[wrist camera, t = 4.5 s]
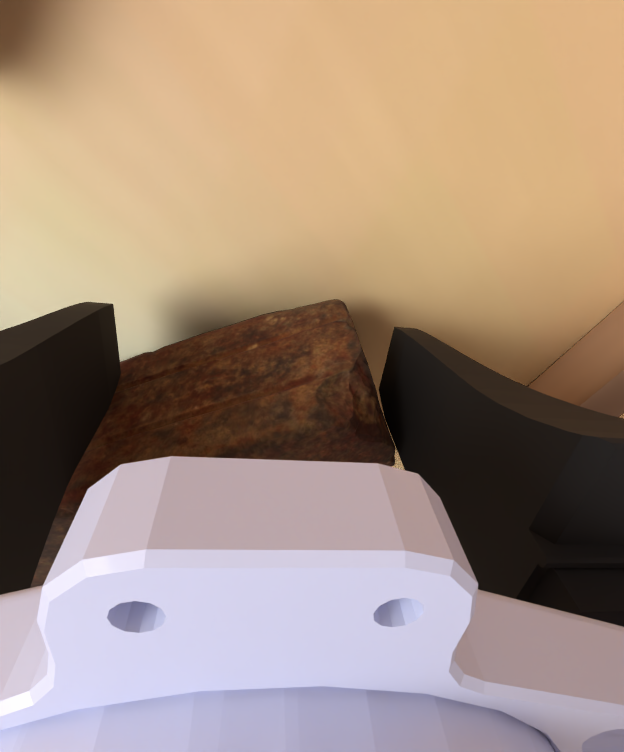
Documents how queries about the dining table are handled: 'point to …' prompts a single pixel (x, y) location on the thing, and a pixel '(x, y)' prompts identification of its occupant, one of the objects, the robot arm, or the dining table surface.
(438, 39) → the dining table surface
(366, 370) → the brick
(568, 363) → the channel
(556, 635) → the robot arm
